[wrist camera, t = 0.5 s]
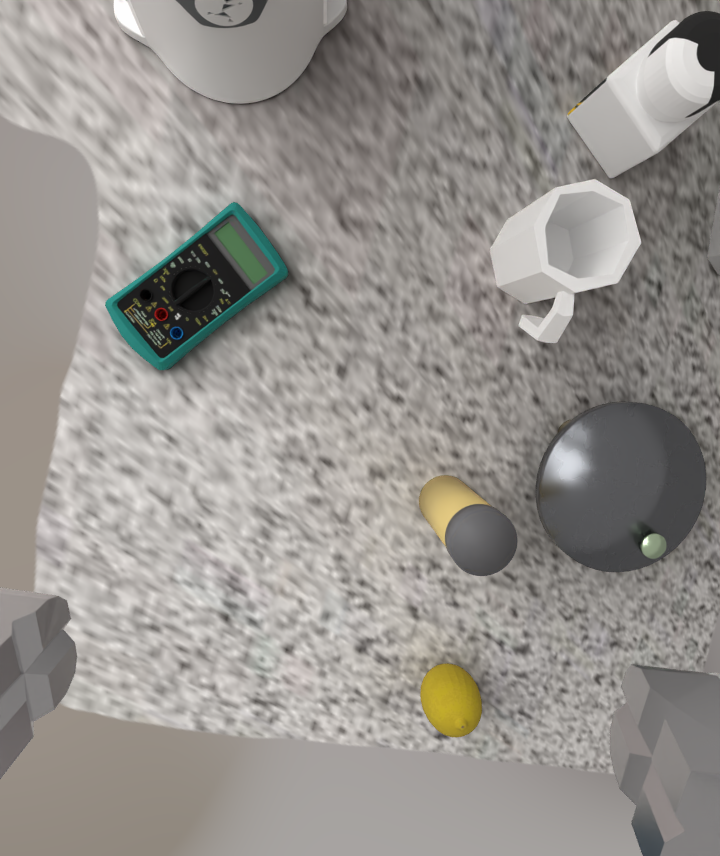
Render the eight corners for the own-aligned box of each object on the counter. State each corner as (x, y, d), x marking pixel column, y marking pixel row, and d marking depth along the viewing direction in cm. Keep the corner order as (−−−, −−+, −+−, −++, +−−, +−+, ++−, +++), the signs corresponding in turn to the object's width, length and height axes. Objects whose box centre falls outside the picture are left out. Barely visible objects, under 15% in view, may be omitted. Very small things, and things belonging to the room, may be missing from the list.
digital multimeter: (107, 309, 48) (94, 306, 45) (240, 205, 48) (236, 195, 45) (162, 375, 50) (153, 376, 47) (292, 274, 49) (291, 269, 46)
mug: (496, 205, 50) (542, 170, 40) (585, 220, 51) (651, 188, 41) (476, 338, 51) (516, 334, 42) (563, 349, 52) (622, 349, 43)
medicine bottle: (624, 63, 49) (725, -28, 37) (668, 130, 50) (779, 62, 39) (564, 116, 49) (645, 41, 37) (609, 181, 50) (701, 129, 39)
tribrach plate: (518, 409, 53) (537, 414, 48) (675, 389, 54) (707, 393, 50) (529, 566, 55) (547, 584, 51) (679, 544, 56) (709, 560, 52)
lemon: (427, 708, 56) (447, 766, 48) (404, 663, 55) (421, 715, 47) (475, 683, 56) (503, 737, 48) (453, 639, 55) (478, 686, 47)
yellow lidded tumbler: (415, 478, 53) (447, 514, 41) (468, 471, 53) (514, 505, 41) (420, 529, 53) (453, 580, 42) (472, 522, 54) (519, 570, 42)
